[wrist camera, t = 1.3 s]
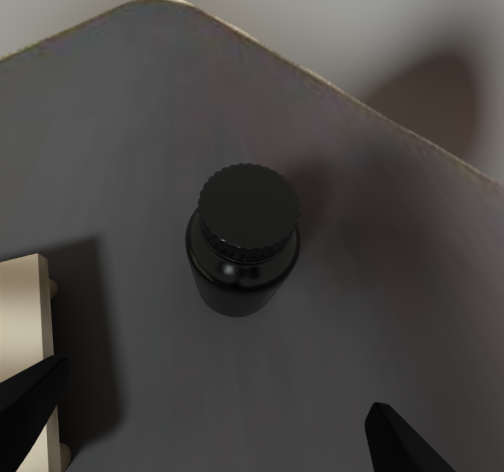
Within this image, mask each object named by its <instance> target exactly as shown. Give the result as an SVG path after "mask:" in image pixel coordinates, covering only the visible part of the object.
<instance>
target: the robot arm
mask: <svg viewBox="0 0 504 472" xmlns="http://www.w3.org/2000/svg"><path fill="white" fill-rule="evenodd" d="M69 382H70V365H69V358H68V357H66V356H60V355H51V356H49V357H47V358H45V359H43V360H41V361H39V362H38V363H36V364H34V365H32V366H30V367H28V368H26V369H25V370H23V371H21V372H19V373H17V374H15V375H13V376H12V377H10V378H8V379H6V380H4V381H2V382H0V472H16V471H17V470H18V468H19V467H20V465H21V464H22V462H23V461H24V459H25V458H26V456H27V455H28V453H29V452H30V450H31V449H32V447H33V446H34V444H35V442H36V441H37V439H38V437H39V436H40V434H41V432H42V430H43V429H44V427H45V425H46V423H47V422H48V420H49V418H50V417H51V415H52V413H53V411H54V410H55V408H56V406H57V404H58V403H59V401H60V399H61V397H62V396H63V394H64V392H65V390H66V389H67V387H68V385H69ZM365 432H366V437H367V441H368V446H369V450H370V455H371V459H372V464H373V468H374V472H456V471H455V470H454V469H453V468H452V467H451V466H450V465H449V464H448V463H447V462H446V461H445V460H444V459H443V458H442V457H441V456H440V455H439V454H438V453H437V452H436V451H435V450H434V449H433V448H432V447H431V446H430V445H429V444H428V443H427V442H426V441H425V440H424V439H423V438H422V437H421V436H420V435H419V434H418V433H417V432H416V431H415V430H414V429H413V428H412V427H411V426H410V425H409V424H408V423H407V422H406V421H405V420H404V419H403V418H402V417H401V416H400V415H399V414H398V413H397V412H396V411H395V410H394V409H393V408H392V407H391V406H390V405H388V404H385V403H379V402H375V403H373V405H372V407H371V409H370V411H369V413H368V415H367V418H366V420H365Z"/></svg>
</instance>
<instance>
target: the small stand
mask: <svg viewBox="0 0 504 472" xmlns="http://www.w3.org/2000/svg"><path fill="white" fill-rule="evenodd" d="M57 292H58V285H57V283H56V282H55V281H53V280H51V279H49V273H48V259H46V258H45V257H43V256H41V255H40V254H38V253H37V254H32V255H28V256H24V257H20V258H16V259H12V260H8V261H4V262H0V382H2V381H4V380H6V379H8V378H10V377H12V376H13V375H15V374H17V373H19V372H21V371H23V370H25V369H26V368H28V367H30V366H32V365H34V364H36V363H38V362H39V361H41V360H43V359H45V358H47V357H49V356H51V355H54V351H53V335H52V320H51V304H50V300H51V299H53V298H54V297H55V295H56V294H57ZM70 460H71V451H70V449H69V447H68V446H67V445H66V444H64V443H59V428H58V413H57V406H56V408H55V410H54V411H53V413H52V415H51V417H50V418H49V420H48V422H47V423H46V425H45V427H44V429H43V430H42V432H41V434H40V436H39V437H38V439H37V441H36V442H35V444H34V446H33V447H32V449H31V450H30V452H29V453H28V455H27V456H26V458H25V459H24V461H23V462H22V464H21V465H20V467H19V468H18V470H17V471H16V472H65V471H66V469H67V468H68V466H69V463H70Z"/></svg>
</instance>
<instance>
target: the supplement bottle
mask: <svg viewBox="0 0 504 472" xmlns="http://www.w3.org/2000/svg"><path fill="white" fill-rule="evenodd" d="M198 205H199V206H198V207H197V209H196V210H195V211H194V213H193V214H192V216H191V218H190V220H189V222H188V225H187V229H186V235H185V245H186V252H187V256H188V260H189V263H190V266H191V269H192V273H193V276H194V279H195V282H196V286H197V289H198V291H199V294H200V296H201V297H202V299H203V300H204V302H205V303H206V304H207V305H208V306H209V307H210V308H211V309H213V310H214V311H216V312H218V313H220V314H222V315H225V316H230V317H243V316H247V315H250V314H253V313H255V312H257V311H258V310H260V309H261V308H263V307H264V306H265V305H266V304H267V303H268V301H269V300H270V299H271V298H272V297H273V295H274V294H275V293H276V291H277V290H278V289H279V287H280V286H281V285H282V284H283V282H284V281H285V280H286V278H287V277H288V276H289V274H290V273H291V271H292V270H293V268H294V266H295V264H296V262H297V259H298V256H299V251H300V235H299V230H298V227H297V224H298V218H299V215H300V213H299V207H300V205H299V203H298V196H297V195H296V194H295V189H294V188H292V187H291V185H290V182H288V181H287V180H285V178H284V177H283V176H282V175H279V174H278V173H277V172H276V171H274V170H271V169H269V168H268V167H263V166H261V165H253V164H251V163H248V164H242V163H240V164H238V165H231V166H229V167H226V168H223V169H222V170H221V171H218V172H216V173H215V174H214V176H211V177H210V178H209V179H208V182H206V183H205V184H204V187H203V190H202V191H201V192H200V199H199V201H198Z"/></svg>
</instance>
